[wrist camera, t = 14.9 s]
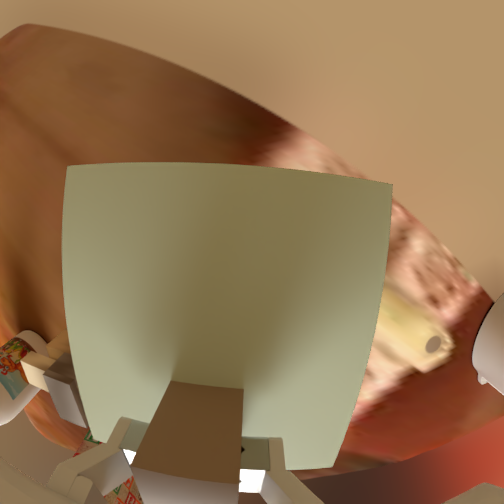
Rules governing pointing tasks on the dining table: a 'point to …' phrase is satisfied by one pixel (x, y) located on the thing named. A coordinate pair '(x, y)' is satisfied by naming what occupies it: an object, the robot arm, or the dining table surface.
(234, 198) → the lid
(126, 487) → the stack of blocks
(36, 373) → the wooden block
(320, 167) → the dining table surface
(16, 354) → the milk bottle
